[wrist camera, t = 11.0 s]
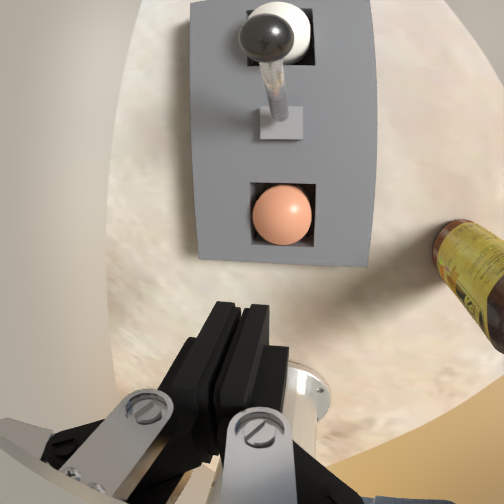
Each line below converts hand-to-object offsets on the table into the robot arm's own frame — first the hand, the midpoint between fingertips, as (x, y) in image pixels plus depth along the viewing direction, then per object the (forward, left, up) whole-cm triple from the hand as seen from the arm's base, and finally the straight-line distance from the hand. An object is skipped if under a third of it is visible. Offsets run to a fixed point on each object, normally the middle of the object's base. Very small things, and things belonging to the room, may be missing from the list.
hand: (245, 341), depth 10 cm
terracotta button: (0, 0, -18) cm, 18 cm away
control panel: (+7, 0, -18) cm, 19 cm away
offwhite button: (+14, 0, -16) cm, 22 cm away
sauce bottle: (-3, -17, -18) cm, 25 cm away
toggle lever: (+7, 0, -14) cm, 16 cm away
